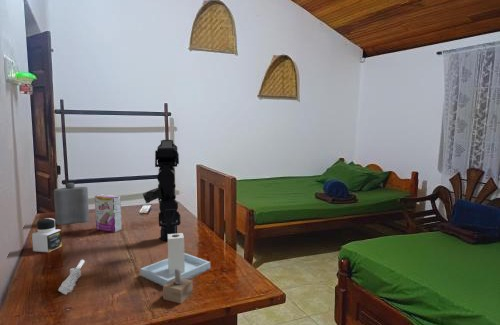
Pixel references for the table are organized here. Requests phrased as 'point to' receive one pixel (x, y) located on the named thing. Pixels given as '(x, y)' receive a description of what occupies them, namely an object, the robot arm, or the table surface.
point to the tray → (161, 274)
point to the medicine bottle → (46, 236)
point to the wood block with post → (178, 288)
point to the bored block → (176, 253)
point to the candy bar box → (108, 212)
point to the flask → (71, 205)
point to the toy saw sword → (71, 279)
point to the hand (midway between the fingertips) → (167, 222)
